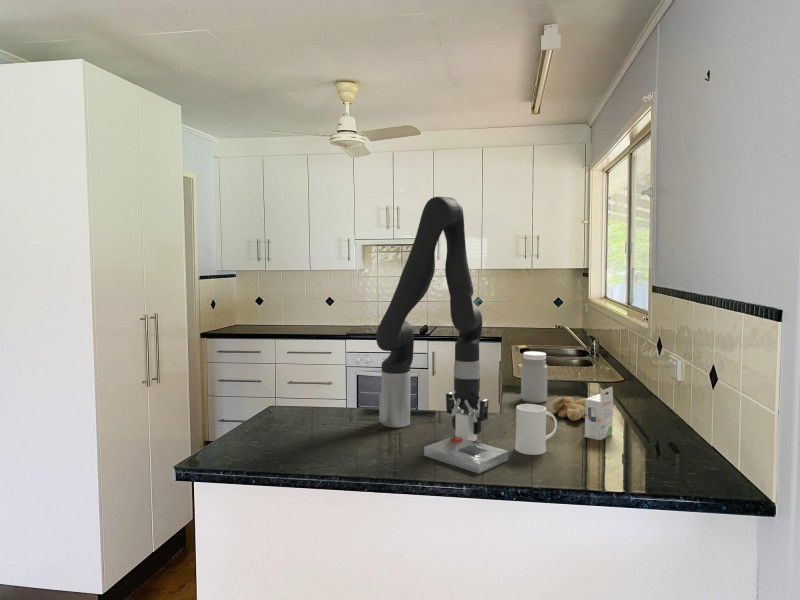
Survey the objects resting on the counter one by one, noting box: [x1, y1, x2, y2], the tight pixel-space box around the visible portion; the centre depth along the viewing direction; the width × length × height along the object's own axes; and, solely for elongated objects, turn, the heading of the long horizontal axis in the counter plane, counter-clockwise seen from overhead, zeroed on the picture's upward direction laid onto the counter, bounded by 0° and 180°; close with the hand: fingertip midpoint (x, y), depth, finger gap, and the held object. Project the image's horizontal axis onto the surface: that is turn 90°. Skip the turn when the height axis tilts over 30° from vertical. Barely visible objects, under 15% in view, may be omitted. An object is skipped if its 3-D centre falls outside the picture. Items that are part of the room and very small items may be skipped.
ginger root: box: [552, 396, 588, 421], centre depth 187 cm, size 16×16×8 cm
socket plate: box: [423, 435, 509, 474], centre depth 147 cm, size 18×13×3 cm
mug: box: [514, 403, 558, 456], centre depth 153 cm, size 12×8×12 cm
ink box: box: [584, 386, 614, 441], centre depth 166 cm, size 9×5×15 cm, turn 134°
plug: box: [454, 410, 478, 442], centre depth 162 cm, size 4×4×10 cm
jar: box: [520, 350, 549, 404], centre depth 208 cm, size 10×10×18 cm
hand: (466, 431), depth 162 cm, fingers open, 7 cm apart
